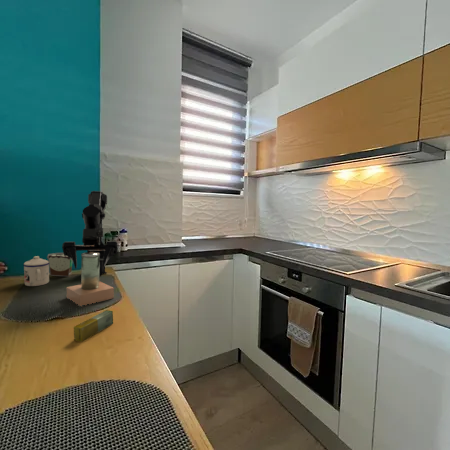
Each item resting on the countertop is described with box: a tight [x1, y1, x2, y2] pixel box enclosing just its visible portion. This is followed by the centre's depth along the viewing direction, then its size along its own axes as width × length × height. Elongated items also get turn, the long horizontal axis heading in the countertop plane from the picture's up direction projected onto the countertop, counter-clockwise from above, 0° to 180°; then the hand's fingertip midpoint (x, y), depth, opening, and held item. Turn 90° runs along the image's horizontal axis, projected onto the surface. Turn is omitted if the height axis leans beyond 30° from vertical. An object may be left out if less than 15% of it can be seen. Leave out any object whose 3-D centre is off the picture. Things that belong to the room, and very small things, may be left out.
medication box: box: [73, 310, 114, 343], centre depth 77 cm, size 12×3×4 cm, turn 161°
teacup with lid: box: [23, 255, 50, 287], centre depth 115 cm, size 12×9×12 cm
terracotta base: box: [66, 280, 115, 307], centre depth 102 cm, size 12×12×4 cm
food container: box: [46, 252, 73, 278], centre depth 132 cm, size 12×6×10 cm, turn 84°
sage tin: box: [80, 252, 100, 290], centre depth 102 cm, size 6×6×13 cm
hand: (89, 267), depth 100 cm, fingers open, 9 cm apart
